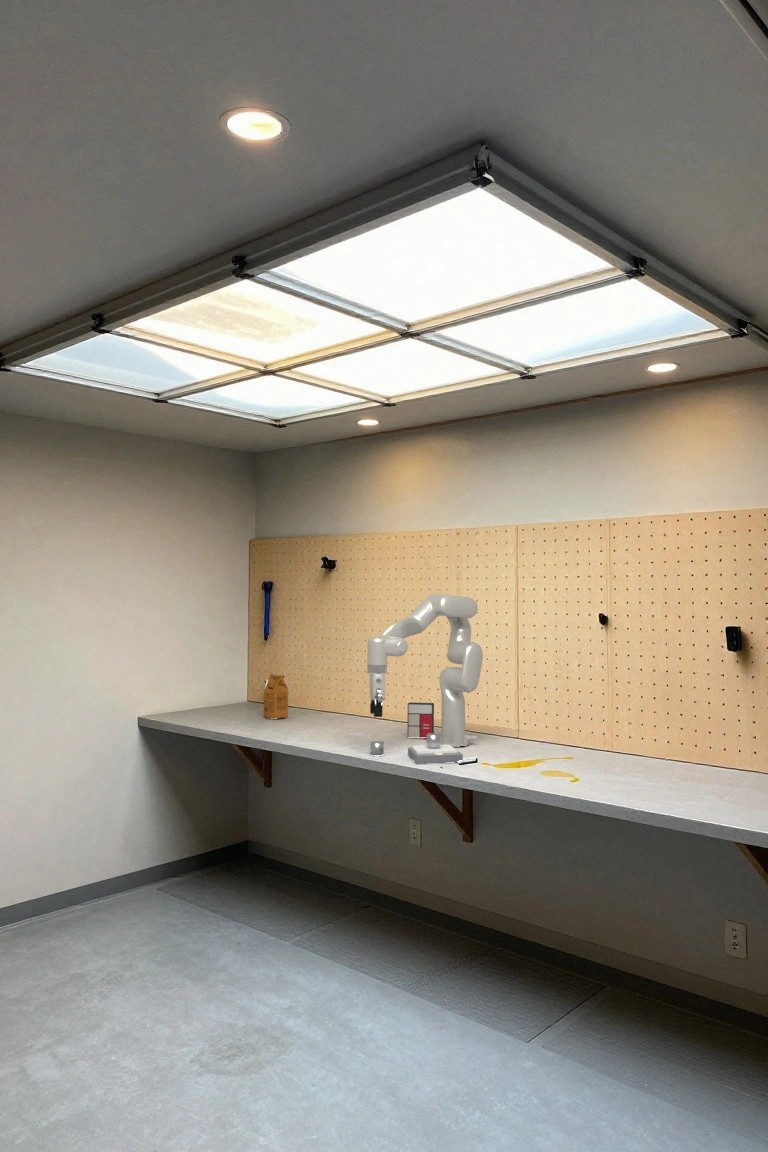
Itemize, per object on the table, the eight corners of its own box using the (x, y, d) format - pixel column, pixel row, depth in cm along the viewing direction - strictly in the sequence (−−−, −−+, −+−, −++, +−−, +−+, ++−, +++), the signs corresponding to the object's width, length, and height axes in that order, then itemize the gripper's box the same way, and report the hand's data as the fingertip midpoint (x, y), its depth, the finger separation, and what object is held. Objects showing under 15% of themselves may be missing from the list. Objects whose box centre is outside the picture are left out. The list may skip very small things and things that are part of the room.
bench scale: (451, 754, 314) (451, 744, 314) (462, 763, 297) (462, 752, 298) (408, 755, 312) (408, 745, 312) (416, 764, 295) (416, 753, 295)
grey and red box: (407, 738, 350) (407, 703, 351) (408, 737, 355) (408, 702, 355) (432, 739, 348) (432, 704, 349) (434, 738, 353) (434, 702, 353)
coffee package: (277, 716, 421) (277, 672, 421) (290, 718, 411) (290, 674, 412) (260, 717, 414) (260, 673, 415) (273, 720, 405) (273, 675, 405)
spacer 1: (382, 754, 315) (382, 740, 315) (384, 756, 310) (384, 743, 310) (369, 754, 314) (369, 741, 315) (371, 756, 310) (371, 743, 310)
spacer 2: (438, 746, 310) (438, 733, 310) (441, 748, 305) (441, 735, 305) (425, 746, 309) (425, 733, 309) (428, 749, 304) (428, 735, 304)
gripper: (390, 671, 305) (389, 718, 305) (383, 668, 323) (382, 712, 322) (370, 671, 304) (369, 718, 304) (364, 668, 321) (363, 712, 321)
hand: (376, 715), depth 313 cm, fingers open, 9 cm apart
